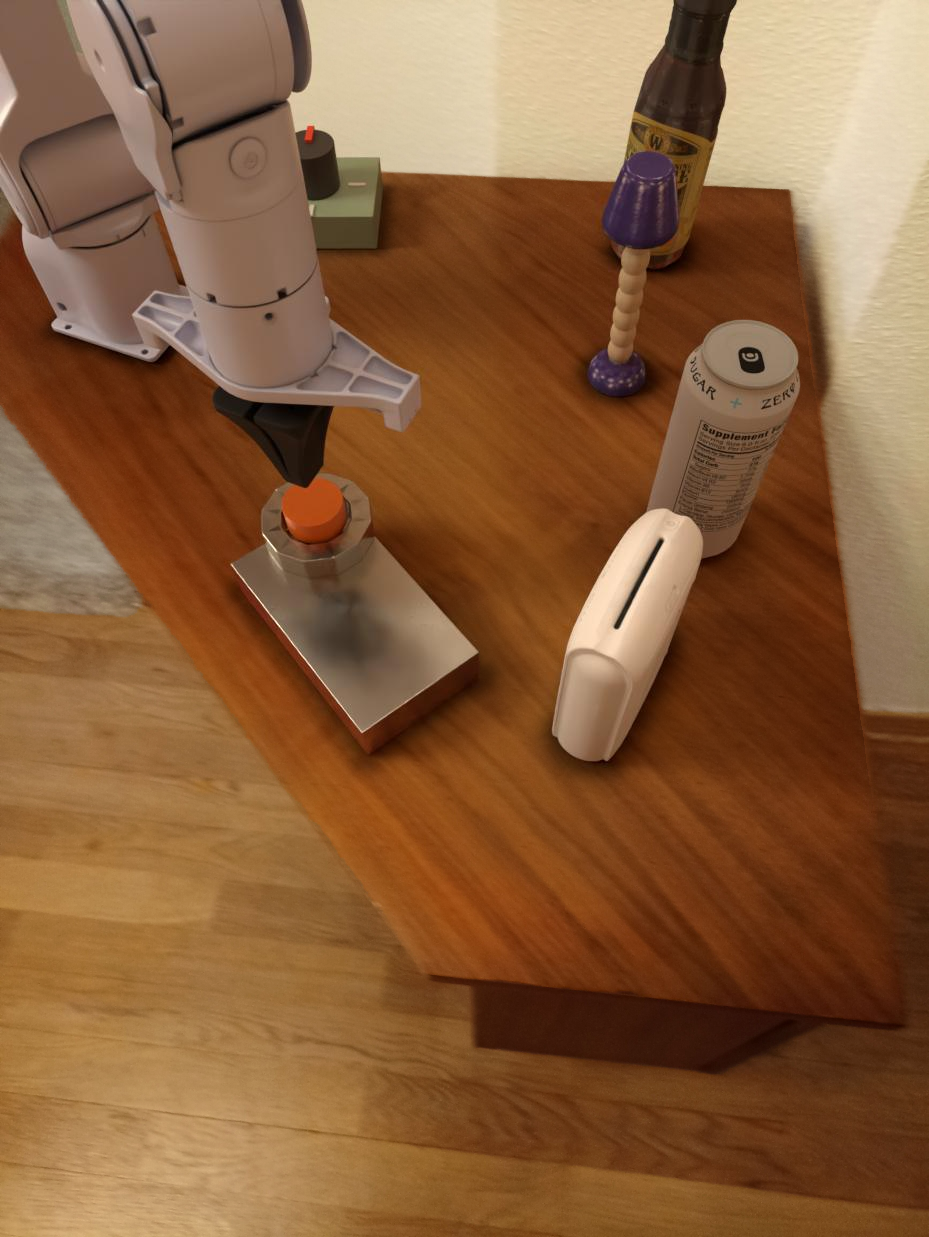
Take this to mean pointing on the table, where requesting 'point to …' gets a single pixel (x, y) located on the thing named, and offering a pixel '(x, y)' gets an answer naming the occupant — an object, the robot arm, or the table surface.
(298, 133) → the knob
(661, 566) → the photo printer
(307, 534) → the button
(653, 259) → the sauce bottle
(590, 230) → the table surface
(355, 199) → the panel
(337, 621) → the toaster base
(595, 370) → the toy lamp
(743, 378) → the energy drink can
